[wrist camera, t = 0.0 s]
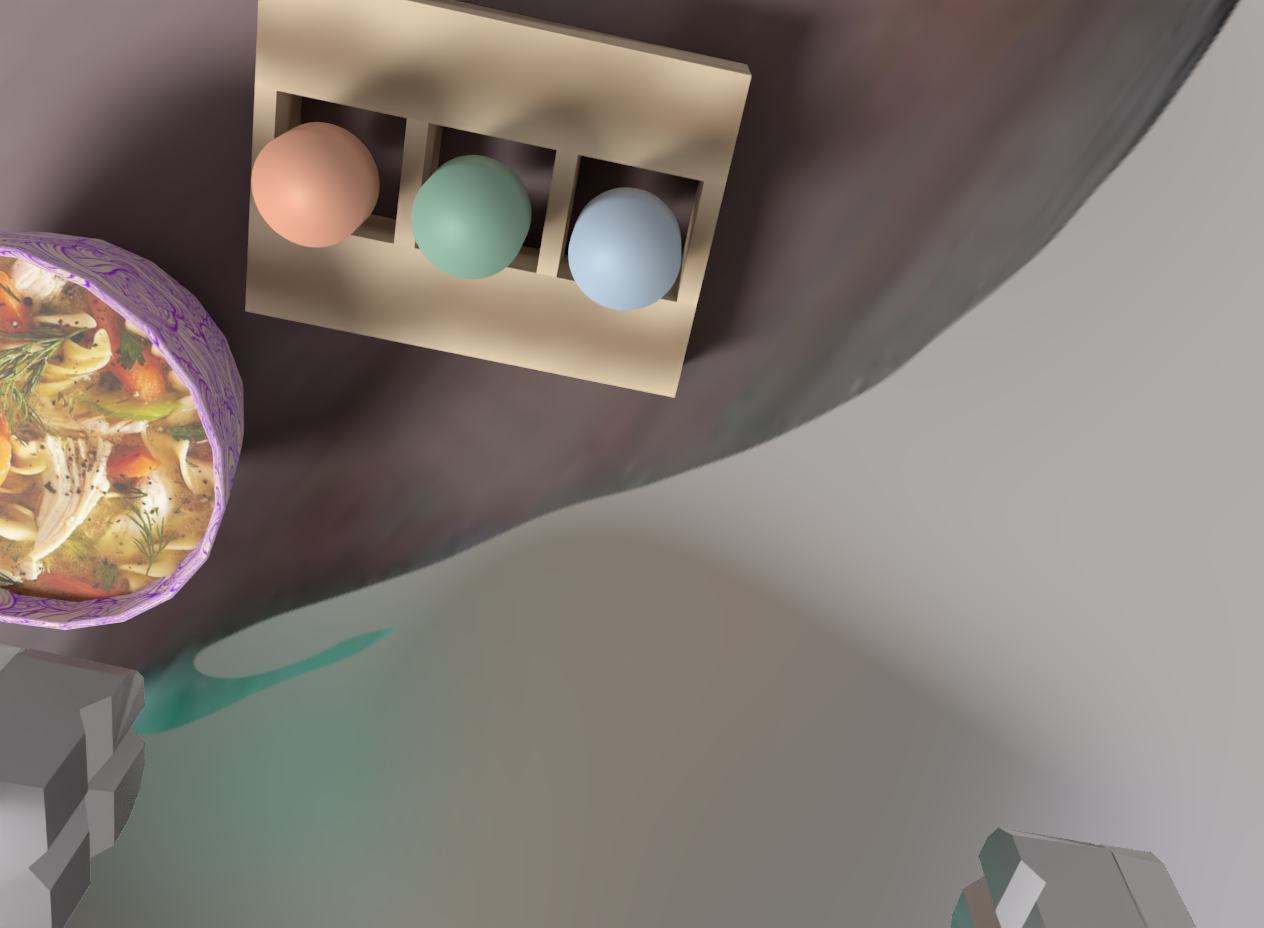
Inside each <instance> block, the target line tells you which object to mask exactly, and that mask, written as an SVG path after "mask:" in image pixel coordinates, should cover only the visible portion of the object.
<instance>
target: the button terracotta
mask: <svg viewBox="0 0 1264 928" xmlns="http://www.w3.org/2000/svg"><path fill="white" fill-rule="evenodd" d="M251 184H252V193H253V197H254V200H255V203H256V206H257V208H258V210H259V212H260V214H261V215H262V217H263V218H264V220H265V221H266V222H267V223H268V225H269V226H270V227H271V228H272V229H273V230H274V231H276V232H277V233H278V234H279V235H281V236H282V237H284V238H285V239H287V240H289V241H291V242H293V243H296V244H299V245H302V246H307V247H327V246H331V245H334V244H337V243H339V242H341V241H343V240H344V239H346V238H347V237H348V236H350V235H351V234H352V233H353V232H354V231H355V230H356V229H357V228H358V227H359V226H360V225H361V224H362V223H363V222H364V221H365V220H366V219H367V218H368V217H369V216H370V214H371V213H372V211H373V209H374V207H375V205H376V203H377V200H378V196H379V186H380V182H379V174H378V170H377V167H376V164H375V161H374V159H373V157H372V155H371V154H370V152H369V150H368V149H367V148H366V146H365V145H364V144H363V143H362V142H361V141H360V140H359V139H358V138H357V137H356V136H355V135H353V134H352V133H351V132H349V131H347V130H345V129H344V128H342V127H339V126H337V125H334V124H330V123H324V122H311V123H305V124H302V125H299V126H297V127H294V128H293V129H291V130H289V131H287V132H286V133H284V134H282V135H280V136H279V137H277V138H275V139H274V140H272V141H271V142H269V143H268V144H267V145H266V146H265V147H264V148H263V149H262V151H261V152H260V153H259V155H258V157H257V159H256V161H255V163H254V167H253V170H252V178H251Z"/></svg>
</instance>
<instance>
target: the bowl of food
mask: <svg viewBox="0 0 1264 928" xmlns="http://www.w3.org/2000/svg"><path fill="white" fill-rule="evenodd" d="M243 434H244V403H243V382H242V380H241V377H240V374H239V371H238V369H237V366H236V363H235V361H234V358H233V355H232V353H231V350H230V347H229V344H228V342H227V339H226V337H225V336H224V334H223V333H222V332H221V330H220V329H219V328H218V326H217V325H216V324H215V322H214V321H213V320H212V318H211V317H210V316H209V314H208V313H207V311H206V310H205V309H204V307H203V306H202V305H201V303H200V302H199V301H198V299H197V298H196V297H195V296H194V295H193V294H192V293H191V292H189V291H188V290H187V289H186V288H184V287H183V286H182V285H181V284H179V283H178V282H177V281H176V280H174V279H173V278H172V277H171V276H169V275H168V274H167V273H166V272H164V271H163V270H162V269H161V268H159V267H158V266H157V265H156V264H154V263H153V262H152V261H149V260H147V259H145V258H143V257H140V256H138V255H136V254H134V253H131V252H129V251H127V250H124V249H122V248H120V247H118V246H115V245H113V244H111V243H109V242H106V241H104V240H101V239H94V238H87V237H79V236H72V235H65V234H58V233H50V232H31V231H25V232H3V233H0V621H2V622H9V623H17V624H25V625H32V626H40V627H48V628H56V629H63V630H68V629H75V628H82V627H89V626H97V625H104V624H111V623H118V622H124V621H126V620H128V619H130V618H132V617H134V616H136V615H138V614H140V613H142V612H144V611H146V610H149V609H151V608H153V607H155V606H157V605H159V604H161V603H163V602H165V601H167V600H169V599H171V598H173V597H174V596H175V594H176V593H177V592H178V591H179V590H180V589H181V588H182V587H183V586H184V585H185V583H186V582H187V581H188V580H189V579H190V578H191V577H192V576H193V575H194V574H195V573H196V571H197V570H198V569H199V568H200V567H201V566H202V565H203V564H204V563H205V562H206V560H207V559H208V557H209V555H210V552H211V549H212V546H213V543H214V540H215V537H216V534H217V532H218V529H219V526H220V523H221V520H222V517H223V514H224V512H225V509H226V506H227V502H228V499H229V495H230V492H231V488H232V483H233V479H234V475H235V471H236V468H237V464H238V461H239V457H240V452H241V448H242V443H243Z"/></svg>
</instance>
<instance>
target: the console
mask: <svg viewBox="0 0 1264 928" xmlns="http://www.w3.org/2000/svg"><path fill="white" fill-rule="evenodd" d="M751 76H752V75H751V73H750V71H749V68H748V66H747V64H743V63H739V62H734V61H730V60H725V59H721V58H716V57H711V56H707V55H702V54H698V53H693V52H689V51H684V50H679V49H675V48H670V47H666V46H661V45H657V44H652V43H647V42H643V41H638V40H634V39H629V38H625V37H620V36H615V35H611V34H606V33H602V32H597V31H593V30H588V29H584V28H579V27H574V26H570V25H565V24H561V23H556V22H552V21H547V20H542V19H538V18H533V17H529V16H524V15H520V14H515V13H510V12H506V11H501V10H497V9H492V8H488V7H483V6H478V5H474V4H469V3H465V2H460V1H456V0H258V22H257V45H256V69H255V92H254V116H253V140H252V163H251V178H252V170H253V167H254V163H255V161H256V159H257V157H258V155H259V153H260V152H261V151H262V149H263V148H264V147H265V146H266V145H267V144H268V143H269V142H271V141H272V140H274V139H275V138H277V137H279V136H280V135H282V134H284V133H286V132H287V131H289V130H291V129H293V128H294V127H297V126H299V125H301V109H302V96H304V97H309V98H314V99H318V100H323V101H328V102H333V103H337V104H342V105H347V106H351V107H356V108H361V109H366V110H370V111H375V112H380V113H384V114H389V115H394V116H398V117H403V118H407V122H406V132H405V142H404V151H403V161H402V170H401V180H400V190H399V199H398V209H397V219H391V218H387V217H382V216H377V215H372V214H370V216H369V217H368V218H367V219H366V220H365V221H364V222H363V223H362V224H361V225H360V226H359V227H358V228H357V229H356V230H355V231H354V232H353V233H352V234H351V235H350V236H348V237H347V238H346V239H344V240H343V241H341V242H339V243H337V244H334V245H331V246H327V247H307V246H302V245H299V244H296V243H293V242H291V241H289V240H287V239H285V238H284V237H282V236H281V235H279V234H278V233H277V232H276V231H274V230H273V229H272V228H271V227H270V226H269V225H268V223H267V222H266V221H265V220H264V218H263V217H262V215H261V214H260V212H259V210H258V208H257V206H256V203H255V200H254V197H253V193H252V184H251V187H250V211H249V234H248V258H247V282H246V305H245V311H246V312H251V313H256V314H261V315H266V316H271V317H276V318H281V319H286V320H291V321H296V322H301V323H306V324H311V325H316V326H321V327H326V328H331V329H336V330H341V331H346V332H351V333H356V334H361V335H366V336H371V337H376V338H381V339H386V340H390V341H395V342H400V343H405V344H410V345H415V346H420V347H425V348H430V349H435V350H440V351H445V352H450V353H455V354H460V355H465V356H470V357H475V358H480V359H485V360H490V361H495V362H500V363H505V364H510V365H515V366H520V367H525V368H530V369H535V370H540V371H545V372H550V373H555V374H560V375H565V376H569V377H574V378H579V379H584V380H589V381H594V382H599V383H604V384H609V385H614V386H619V387H624V388H629V389H634V390H639V391H644V392H649V393H654V394H659V395H664V396H669V397H674V398H675V395H676V390H677V386H678V382H679V378H680V374H681V369H682V365H683V361H684V357H685V353H686V348H687V344H688V340H689V336H690V332H691V328H692V323H693V319H694V315H695V311H696V307H697V302H698V298H699V294H700V290H701V286H702V281H703V277H704V273H705V269H706V265H707V261H708V256H709V252H710V248H711V244H712V240H713V235H714V231H715V227H716V223H717V219H718V214H719V210H720V206H721V202H722V198H723V194H724V189H725V185H726V181H727V177H728V173H729V168H730V164H731V160H732V156H733V152H734V148H735V143H736V139H737V135H738V131H739V127H740V122H741V118H742V114H743V110H744V106H745V101H746V97H747V93H748V89H749V85H750V81H751ZM443 126H446V127H450V128H455V129H460V130H464V131H469V132H474V133H478V134H483V135H488V136H493V137H497V138H502V139H507V140H511V141H516V142H521V143H526V144H530V145H535V146H540V147H544V148H549V149H554V150H557V152H556V158H555V164H554V170H553V176H552V182H551V188H550V194H549V200H548V206H547V212H546V218H545V224H544V230H543V236H542V242H541V248H540V249H536V248H531V247H526V246H521V249H520V251H519V252H518V254H517V256H516V257H515V259H514V260H513V261H512V262H511V263H510V264H509V265H508V266H507V267H506V268H505V269H503V270H502V271H500V272H499V273H497V274H495V275H492V276H490V277H486V278H482V279H463V278H458V277H455V276H452V275H449V274H447V273H445V272H443V271H441V270H440V269H438V268H437V267H436V266H434V265H433V264H432V263H431V262H430V261H429V260H428V259H427V258H426V257H425V256H424V254H423V253H422V251H421V250H420V248H419V247H418V245H417V243H416V240H415V237H414V235H413V230H412V224H411V212H412V206H413V203H414V200H415V197H416V195H417V193H418V191H419V190H420V188H421V187H422V185H423V184H424V183H425V182H426V181H427V180H428V179H429V178H430V177H431V176H432V175H433V173H434V172H435V171H436V170H437V169H438V164H439V155H440V147H441V138H442V130H443ZM581 156H587V157H591V158H596V159H601V160H606V161H610V162H615V163H620V164H624V165H629V166H634V167H638V168H643V169H648V170H653V171H657V172H662V173H667V174H671V175H676V176H681V177H686V178H690V179H695V180H699V183H698V187H697V192H696V196H695V200H694V205H693V209H692V213H691V218H690V222H689V227H688V231H687V235H686V240H685V244H684V249H683V253H682V257H681V265H680V270H679V273H678V276H677V278H676V280H675V282H674V284H673V286H672V287H671V288H670V290H669V291H668V292H667V293H666V294H665V295H664V296H663V297H662V298H661V299H659V300H658V301H657V302H655V303H653V304H651V305H649V306H647V307H644V308H641V309H637V310H630V311H621V310H614V309H610V308H607V307H604V306H602V305H600V304H598V303H596V302H594V301H593V300H591V299H590V298H589V297H588V296H587V295H585V294H584V293H583V292H582V290H581V289H580V288H579V287H578V285H577V283H576V282H575V280H574V278H573V276H572V273H571V270H570V267H569V260H568V255H565V254H564V252H565V247H566V241H567V235H568V230H569V224H570V219H571V213H572V207H573V202H574V196H575V190H576V185H577V179H578V173H579V168H580V162H581Z"/></svg>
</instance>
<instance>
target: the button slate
mask: <svg viewBox="0 0 1264 928" xmlns="http://www.w3.org/2000/svg"><path fill="white" fill-rule="evenodd" d="M568 260H569V267H570V270H571V273H572V276H573V278H574V280H575V282H576V283H577V285H578V287H579V288H580V289H581V290H582V292H583V293H584V294H585V295H587V296H588V297H589V298H590V299H591V300H593V301H594V302H596V303H598V304H600V305H602V306H604V307H607V308H610V309H614V310H621V311H630V310H637V309H641V308H644V307H647V306H649V305H651V304H653V303H655V302H657V301H658V300H659V299H661V298H662V297H663V296H664V295H665V294H666V293H667V292H668V291H669V290H670V288H671V287H672V286H673V284H674V282H675V280H676V278H677V276H678V273H679V270H680V265H681V232H680V228H679V225H678V222H677V220H676V217H675V216H674V214H673V212H672V211H671V209H670V208H669V207H668V206H667V205H666V204H665V203H664V202H663V201H662V200H661V199H660V198H658V197H657V196H655V195H653V194H652V193H650V192H647V191H645V190H641V189H638V188H631V187H622V188H615V189H611V190H608V191H606V192H603V193H601V194H600V195H598V196H596V197H595V198H594V199H592V200H591V201H590V202H589V203H588V204H587V205H586V206H585V207H584V209H583V210H582V211H581V213H580V215H579V217H578V219H577V221H576V224H575V227H574V230H573V233H572V236H571V239H570V243H569V250H568Z"/></svg>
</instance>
